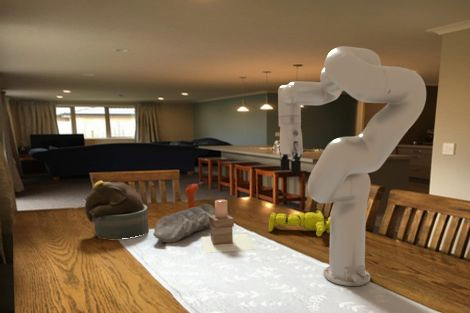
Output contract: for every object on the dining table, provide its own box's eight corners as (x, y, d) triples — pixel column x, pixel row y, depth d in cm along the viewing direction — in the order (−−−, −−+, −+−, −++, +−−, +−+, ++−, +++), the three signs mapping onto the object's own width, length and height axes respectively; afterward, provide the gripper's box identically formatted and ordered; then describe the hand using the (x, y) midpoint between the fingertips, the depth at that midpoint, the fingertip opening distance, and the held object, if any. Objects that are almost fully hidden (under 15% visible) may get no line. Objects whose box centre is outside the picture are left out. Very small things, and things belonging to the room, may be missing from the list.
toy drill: (207, 204, 193) (206, 177, 190) (193, 217, 176) (191, 187, 173) (199, 204, 195) (197, 176, 192) (183, 216, 177) (181, 187, 174)
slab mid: (232, 235, 131) (232, 227, 131) (213, 236, 130) (213, 228, 130) (229, 230, 138) (229, 222, 138) (210, 231, 137) (210, 223, 137)
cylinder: (228, 218, 132) (228, 201, 131) (216, 219, 131) (215, 202, 130) (226, 215, 136) (226, 199, 136) (214, 216, 135) (214, 200, 135)
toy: (264, 240, 138) (346, 252, 132) (266, 216, 137) (349, 227, 131) (273, 220, 167) (341, 229, 161) (274, 200, 166) (343, 208, 160)
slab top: (233, 226, 132) (233, 218, 132) (215, 228, 129) (215, 220, 129) (226, 221, 138) (226, 214, 138) (209, 223, 136) (208, 215, 135)
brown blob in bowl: (72, 237, 143) (69, 182, 141) (119, 222, 165) (118, 174, 163) (115, 246, 132) (112, 186, 130) (159, 228, 154) (158, 177, 152)
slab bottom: (232, 243, 132) (232, 235, 131) (213, 244, 130) (213, 236, 130) (229, 237, 138) (229, 230, 138) (210, 239, 137) (210, 231, 137)
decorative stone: (193, 222, 164) (193, 200, 163) (222, 227, 156) (222, 203, 156) (143, 243, 136) (142, 216, 135) (175, 249, 129) (175, 221, 128)
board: (258, 251, 126) (258, 248, 126) (205, 255, 122) (205, 252, 122) (246, 235, 143) (246, 233, 143) (200, 238, 140) (200, 236, 140)
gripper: (310, 120, 118) (311, 173, 119) (290, 122, 135) (290, 169, 136) (288, 120, 116) (289, 174, 117) (270, 122, 133) (271, 169, 134)
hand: (290, 171), depth 127 cm, fingers open, 9 cm apart
